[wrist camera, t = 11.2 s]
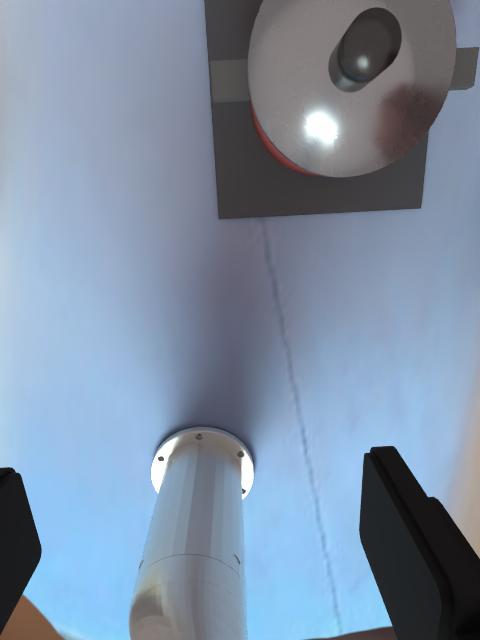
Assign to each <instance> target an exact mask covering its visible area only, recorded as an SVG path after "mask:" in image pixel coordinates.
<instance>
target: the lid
mask: <svg viewBox="0 0 480 640" xmlns="http://www.w3.org/2000/svg"><path fill="white" fill-rule="evenodd" d="M455 59H456V29H455V23H454V16H453V12H452V9H451V5H450V2H449V0H263V2H262V4H261V7H260V9H259V12H258V14H257V17H256V19H255V23H254V27H253V30H252V34H251V39H250V46H249V53H248V70H247V75H248V87H249V93H250V98H251V103H252V106H253V109H254V112H255V115H256V118H257V120H258V122H259V124H260V126H261V129H262V130H263V132H264V133H265V135H266V137H267V138H268V140H269V141H270V142H271V144H272V145H273V146H274V147H275V148H276V150H277V151H278V152H279V153H281V154H282V155H283V156H284V157H285V158H286V159H287V160H289V161H290V162H292V163H293V164H294V165H296V166H298V167H300V168H302V169H304V170H306V171H308V172H311V173H314V174H317V175H321V176H327V177H341V178H343V177H352V176H359V175H363V174H367V173H371V172H373V171H376V170H379V169H381V168H384V167H385V166H387V165H389V164H391V163H393V162H395V161H396V160H397V159H399V158H400V157H402V156H403V155H404V154H406V153H407V152H408V151H409V150H410V149H411V148H413V147H414V146H415V145H416V144H417V143H418V142H419V140H420V139H421V138H422V137H423V136H424V135H425V134H426V132H427V131H428V129H429V128H430V127H431V125H432V124H433V122H434V121H435V119H436V117H437V115H438V114H439V112H440V110H441V108H442V106H443V104H444V101H445V99H446V96H447V94H448V91H449V88H450V84H451V81H452V77H453V72H454V66H455Z"/></svg>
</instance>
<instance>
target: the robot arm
mask: <svg viewBox="0 0 480 640" xmlns="http://www.w3.org/2000/svg"><path fill="white" fill-rule="evenodd" d="M151 477H152V483H153V485H154V488H155V490H156V491H157V493H158V495H157V499H156V503H155V507H154V511H153V515H152V519H151V523H150V527H149V531H148V535H147V539H146V543H145V547H144V551H143V555H142V559H141V562H140V566H139V570H138V574H137V578H136V583H135V586H134V590H133V594H132V598H131V602H130V609H129V633H130V639H131V640H248V633H247V613H246V583H245V555H244V527H243V499H244V498H245V497H246V496H247V494H248V493H249V491H250V489H251V487H252V484H253V481H254V464H253V460H252V457H251V454H250V452H249V451H248V449H247V447H246V446H245V445H244V444H243V443H242V441H240V440H239V439H238V438H237V437H235V436H234V435H232V434H230V433H228V432H226V431H224V430H220V429H217V428H212V427H193V428H187V429H184V430H182V431H179V432H177V433H175V434H173V435H171V436H170V437H169V438H167V439H166V440H165V441H164V442H163V443H162V444H161V445H160V447H159V448H158V449H157V452H156V454H155V456H154V459H153V463H152V467H151ZM359 532H360V539H361V543H362V546H363V549H364V551H365V554H366V557H367V559H368V562H369V565H370V567H371V570H372V572H373V575H374V578H375V580H376V583H377V586H378V588H379V591H380V594H381V596H382V599H383V602H384V604H385V607H386V610H387V612H388V615H389V618H390V620H391V623H392V625H393V628H394V631H395V633H396V636H397V639H398V640H480V559H479V557H478V556H477V554H476V553H475V551H474V550H473V548H472V547H471V546H470V544H469V543H468V541H467V540H466V538H465V537H464V535H463V534H462V533H461V531H460V530H459V528H458V527H457V525H456V524H455V522H454V521H453V520H452V518H451V517H450V515H449V514H448V512H447V511H446V509H445V508H444V506H443V505H442V504H441V503H440V501H439V500H438V499H436V498H435V497H428V496H427V495H426V493H425V492H424V490H423V489H422V487H421V486H420V484H419V483H418V481H417V480H416V478H415V477H414V475H413V474H412V472H411V471H410V469H409V468H408V466H407V465H406V463H405V462H404V460H403V459H402V457H401V456H400V454H399V453H398V451H397V449H396V448H395V447H393V446H383V447H372V448H371V450H370V453H365V454H364V462H363V478H362V494H361V510H360V526H359ZM41 550H42V549H41V544H40V541H39V537H38V534H37V530H36V527H35V523H34V520H33V516H32V512H31V509H30V505H29V502H28V498H27V495H26V491H25V488H24V484H23V481H22V477H21V475H20V474H19V473H16V472H15V470H14V469H13V468H10V467H8V468H0V635H1V633H2V631H3V629H4V627H5V625H6V623H7V622H8V620H9V618H10V616H11V614H12V612H13V610H14V608H15V607H16V605H17V603H18V601H19V599H20V597H21V595H22V593H23V592H24V590H25V588H26V586H27V584H28V582H29V580H30V578H31V577H32V575H33V573H34V571H35V569H36V567H37V565H38V563H39V561H40V558H41Z"/></svg>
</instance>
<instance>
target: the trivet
mask: <svg viewBox="0 0 480 640" xmlns="http://www.w3.org/2000/svg"><path fill="white" fill-rule="evenodd" d="M204 1H205V16H206V32H207V47H208V62H209V77H210V92H211V107H212V123H213V138H214V153H215V168H216V183H217V198H218V213H219V219H231V218H250V217H269V216H288V215H306V214H325V213H344V212H362V211H381V210H400V209H418V208H421V204H422V194H423V183H424V173H425V163H426V152H427V142H428V131H429V129H428V131H427V132H426V134H425V135H424V136H423V137H422V138H421V139H420V140H419V142H418V143H417V144H416V145H415V146H414V147H413V148H411V149H410V150H409V151H408V152H407V153H406V154H404V155H403V156H402V157H400V158H399V159H397V160H396V161H395V162H393V163H391V164H389V165H387V166H385V167H384V168H381V169H379V170H376V171H373V172H371V173H367V174H363V175H359V176H352V177H343V178H341V177H327V176H311V175H305V174H301V173H298V172H294V171H292V170H290V169H288V168H286V167H285V166H283V165H282V164H280V163H279V162H278V161H277V160H275V159H274V158H273V157H272V156H271V155H270V153H269V152H268V151H267V150H266V149H265V147H264V146H263V144H262V143H261V141H260V139H259V137H258V135H257V133H256V130H255V127H254V124H253V120H252V115H251V107H250V101H237V102H218V103H214V102H213V93H212V77H211V62H210V61H222V60H241V59H248V53H249V46H250V39H251V34H252V30H253V27H254V23H255V19H256V17H257V14H258V12H259V9H260V7H261V4H262V2H263V0H204Z"/></svg>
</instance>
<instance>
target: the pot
mask: <svg viewBox="0 0 480 640" xmlns="http://www.w3.org/2000/svg"><path fill="white" fill-rule="evenodd" d="M478 50H479V47H473V48H456V59H455V66H454V72H453V77H452V81H451V84H450V88H449V90H466V89H468V88H470V87H472V86H474V82H475V74H476V66H477V58H478ZM210 62H211V77H212V93H213V102H214V103H218V102H237V101H250V107H251V115H252V120H253V124H254V127H255V130H256V133H257V135H258V137H259V139H260V141H261V143H262V144H263V146H264V147H265V149H266V150H267V151H268V152H269V153H270V155H271V156H272V157H273V158H274V159H275V160H277V161H278V162H279V163H280V164H282V165H283V166H285V167H286V168H288V169H290V170H292V171H294V172H298V173H301V174H305V175H311V176H321V175H317V174H314V173H311V172H308V171H306V170H304V169H302V168H300V167H298V166H296V165H294V164H293V163H292V162H290V161H289V160H287V159H286V158H285V157H284V156H283V155H282V154H281V153H279V152H278V151H277V150H276V148H275V147H274V146H273V145H272V144H271V142H270V141H269V140H268V138H267V137H266V135H265V133H264V132H263V130H262V129H261V126H260V124H259V122H258V120H257V118H256V115H255V112H254V109H253V106H252V103H251V98H250V93H249V87H248V75H247V70H248V59H241V60H222V61H210Z"/></svg>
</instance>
